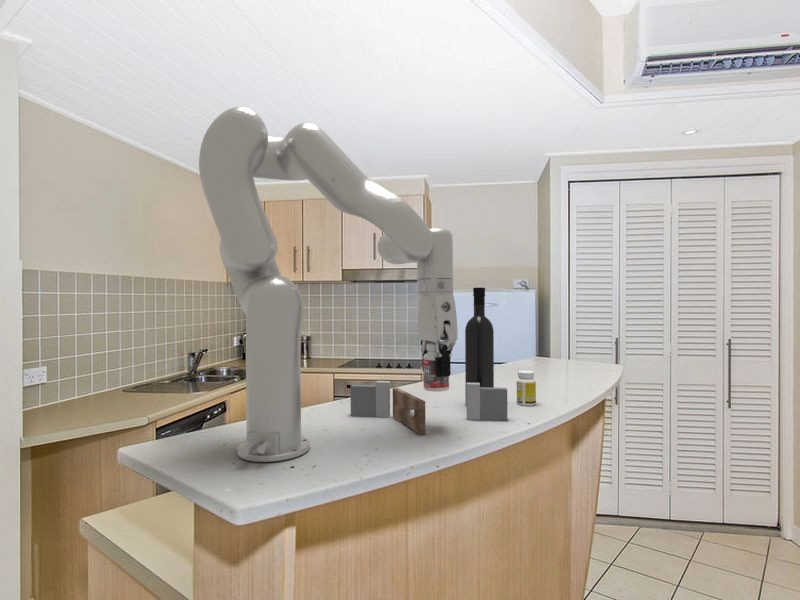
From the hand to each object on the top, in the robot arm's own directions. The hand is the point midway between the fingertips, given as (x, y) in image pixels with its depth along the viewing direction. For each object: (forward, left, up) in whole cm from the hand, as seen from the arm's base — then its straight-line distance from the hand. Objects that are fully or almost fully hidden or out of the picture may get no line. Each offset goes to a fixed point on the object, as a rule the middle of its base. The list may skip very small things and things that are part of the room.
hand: (436, 373), depth 96 cm
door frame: (+8, +2, -12) cm, 14 cm away
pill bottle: (0, 0, -4) cm, 4 cm away
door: (+1, +7, -11) cm, 13 cm away
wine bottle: (+20, -10, -12) cm, 25 cm away
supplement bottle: (+24, -22, -12) cm, 35 cm away
